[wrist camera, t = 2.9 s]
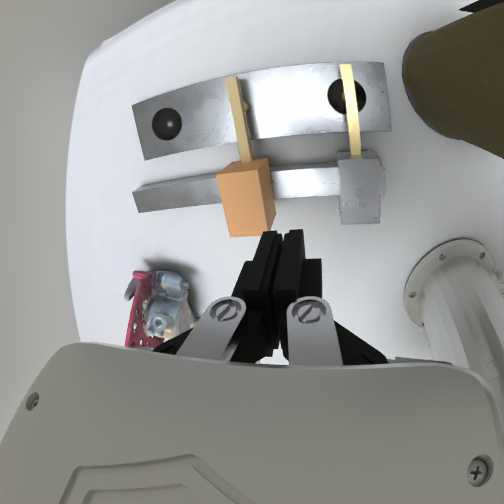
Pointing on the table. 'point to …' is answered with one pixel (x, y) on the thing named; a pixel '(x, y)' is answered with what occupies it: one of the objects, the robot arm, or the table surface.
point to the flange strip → (262, 107)
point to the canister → (461, 77)
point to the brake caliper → (157, 308)
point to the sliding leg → (245, 178)
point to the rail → (207, 192)
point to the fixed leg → (356, 166)
